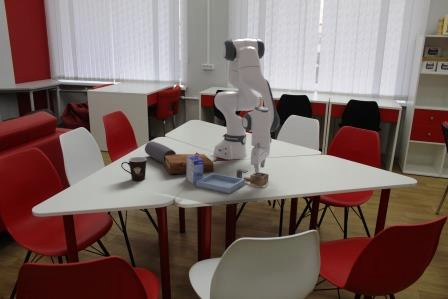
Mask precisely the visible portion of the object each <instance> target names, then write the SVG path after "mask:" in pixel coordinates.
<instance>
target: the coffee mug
mask: <svg viewBox="0 0 448 299" xmlns="http://www.w3.org/2000/svg"><path fill="white" fill-rule="evenodd" d="M147 160H148V159H147V158H146V157H143V156H134V157H130V158H129V159H128V162H127V161H123V162H122V163H121V166H120V167H121V168H122V169H123V170H124V171H125V172H126V173H127V174H129V175H131V176H130V177H131V180H132V181H136V182H139V181H144V180H145V179H146V172H147V171H146V170H147ZM124 164H127V165H128V167H129V170H130V171H128V169H125V168H124V167H123V165H124Z"/></svg>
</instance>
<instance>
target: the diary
mask: <svg viewBox="0 0 448 299" xmlns="http://www.w3.org/2000/svg"><path fill="white" fill-rule="evenodd" d="M195 154H196V153H195ZM195 154H194V153H193V154H191V153H189V154H188V153H181V154H180V153H178V154H177V153H176V154H168V155H167V154H165V155H164V157H165V163H164V162H163V163H162V164H163V165H164V167H165V170H167V172H168V174H170V175H174V174H175V175H177V174H178V175H179V174H182V175H183V174H185V175H186V174H187V156H195ZM198 154H199V156H198V155H197V154H196V156H198V157H199V158H201V159H202V160H203V174H204V173H205V174H206V173H214V168H215V163H214V161H212V160H211V159H210V158H209V157H208V155H206V154H205V153H198Z"/></svg>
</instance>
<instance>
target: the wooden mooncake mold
mask: <svg viewBox="0 0 448 299" xmlns="http://www.w3.org/2000/svg"><path fill="white" fill-rule="evenodd" d="M257 174H262V177H261V176H257ZM242 179H245V181H248V182H250V183H252V184H257V185H262V186H263V185H266V184H267V183H268V182H269V173H266V172H265V173H264V172H260V171H259V172H258V173H255V172H253V173H251V174H250V177H249V176H244V177H243V176H242Z"/></svg>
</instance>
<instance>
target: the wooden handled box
mask: <svg viewBox="0 0 448 299" xmlns="http://www.w3.org/2000/svg"><path fill="white" fill-rule="evenodd" d="M243 173H244V174H247V173H249V171H248V170H246V169H241V168H239V169H237V170H236V178H241V179H243ZM257 176H261V177H262V174H257ZM245 185H248V186H252V187H257V188H262V189H265V188H268V186H269V185H267V184H264V185H263V186H262V185H257V184H252V183H250V181H248V180H245Z"/></svg>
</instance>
